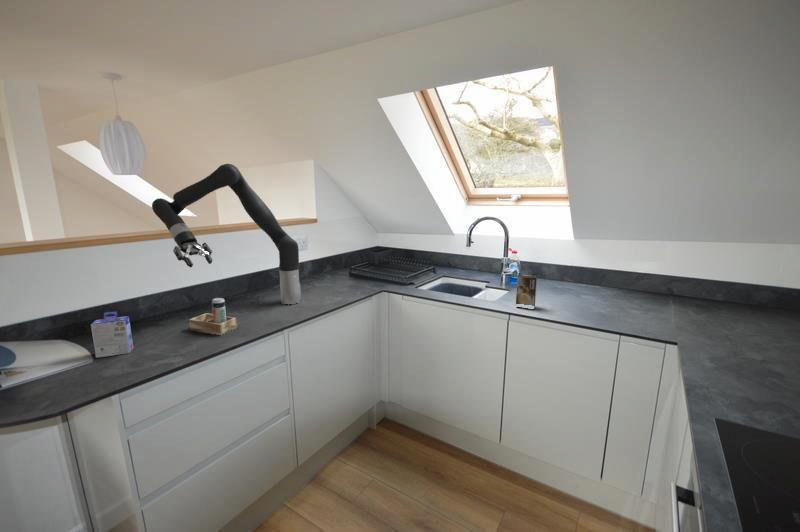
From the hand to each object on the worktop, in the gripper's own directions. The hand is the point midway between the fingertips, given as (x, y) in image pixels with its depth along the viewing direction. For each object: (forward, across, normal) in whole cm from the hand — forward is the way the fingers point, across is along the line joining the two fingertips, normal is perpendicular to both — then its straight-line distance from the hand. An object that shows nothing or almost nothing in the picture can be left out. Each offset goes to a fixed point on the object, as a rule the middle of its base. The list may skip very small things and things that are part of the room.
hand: (201, 264), depth 157 cm
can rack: (+27, -6, +8) cm, 29 cm away
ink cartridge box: (+21, -37, +14) cm, 45 cm away
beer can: (+29, -5, +5) cm, 29 cm away
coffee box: (+101, +93, -64) cm, 151 cm away
